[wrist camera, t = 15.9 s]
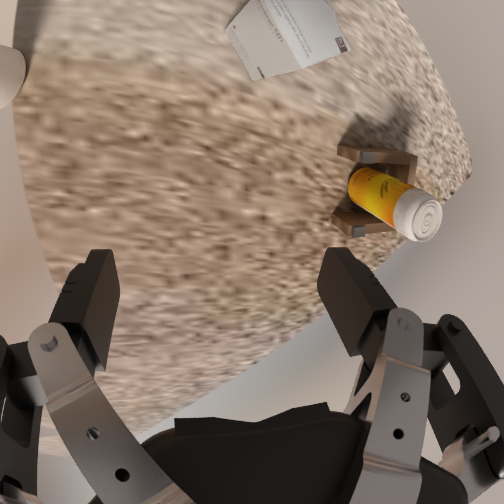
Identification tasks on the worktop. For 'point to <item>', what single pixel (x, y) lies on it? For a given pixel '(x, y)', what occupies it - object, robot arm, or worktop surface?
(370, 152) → the holder
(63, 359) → the robot arm
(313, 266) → the worktop surface
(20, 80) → the alcohol
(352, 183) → the beer can
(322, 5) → the skincare box
